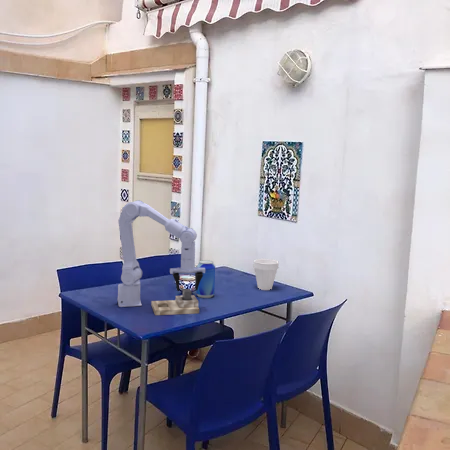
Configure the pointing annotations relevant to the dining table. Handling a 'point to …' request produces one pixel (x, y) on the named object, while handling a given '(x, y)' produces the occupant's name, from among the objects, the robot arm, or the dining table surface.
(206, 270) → the beer can
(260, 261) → the cup
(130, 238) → the robot arm
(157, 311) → the beige stepped block
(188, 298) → the plug
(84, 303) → the dining table surface
